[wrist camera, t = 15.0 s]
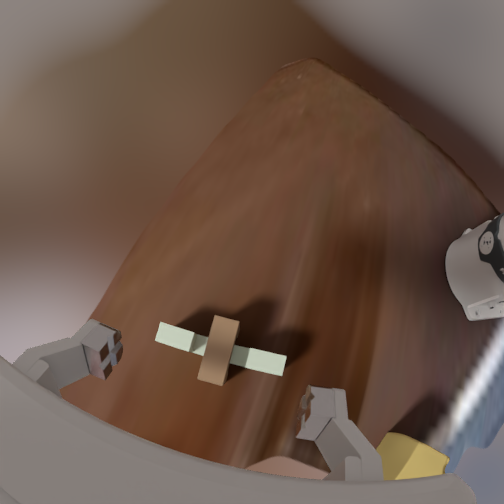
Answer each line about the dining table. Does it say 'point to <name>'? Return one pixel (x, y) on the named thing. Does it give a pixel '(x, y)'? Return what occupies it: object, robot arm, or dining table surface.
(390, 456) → the cheese
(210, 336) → the cross-piece
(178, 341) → the slotted board
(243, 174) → the dining table surface
